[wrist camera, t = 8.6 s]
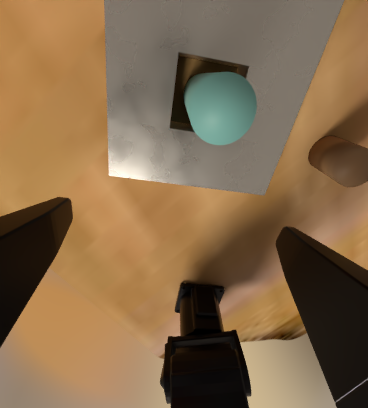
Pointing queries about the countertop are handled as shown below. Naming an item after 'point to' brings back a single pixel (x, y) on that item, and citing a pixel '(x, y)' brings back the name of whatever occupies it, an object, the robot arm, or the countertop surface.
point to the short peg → (340, 160)
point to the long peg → (220, 106)
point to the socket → (217, 53)
